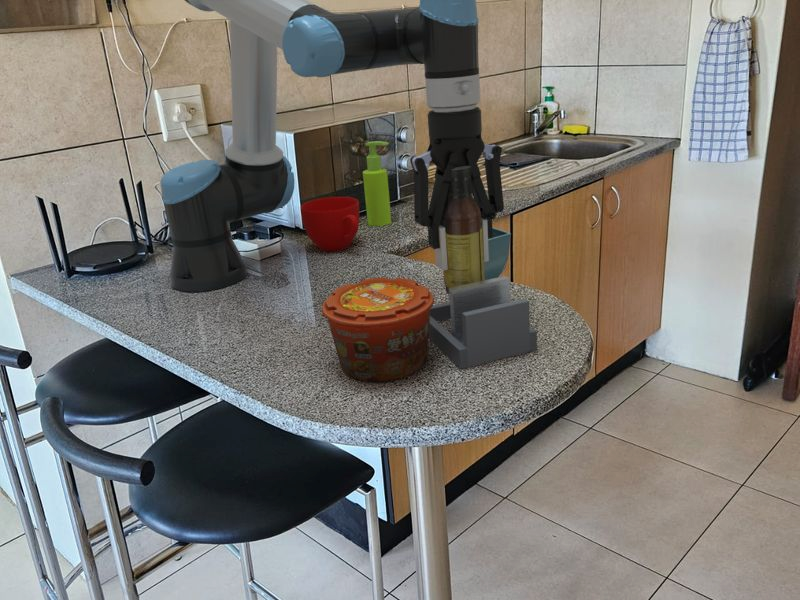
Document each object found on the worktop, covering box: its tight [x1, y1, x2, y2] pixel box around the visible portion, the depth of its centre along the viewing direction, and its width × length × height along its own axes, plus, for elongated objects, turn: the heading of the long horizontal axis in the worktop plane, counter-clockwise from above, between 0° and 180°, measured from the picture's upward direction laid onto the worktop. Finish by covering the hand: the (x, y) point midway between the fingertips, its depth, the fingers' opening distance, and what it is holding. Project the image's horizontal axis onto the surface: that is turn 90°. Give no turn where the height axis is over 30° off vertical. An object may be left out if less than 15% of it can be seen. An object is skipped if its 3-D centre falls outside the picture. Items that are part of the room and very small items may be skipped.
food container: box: [321, 276, 435, 384], centre depth 100 cm, size 16×16×11 cm
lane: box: [429, 298, 538, 370], centre depth 106 cm, size 18×12×8 cm
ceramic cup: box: [300, 196, 360, 252], centre depth 153 cm, size 13×17×10 cm
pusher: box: [449, 275, 511, 344], centre depth 103 cm, size 1×9×10 cm, turn 111°
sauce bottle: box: [440, 165, 485, 296], centre depth 104 cm, size 6×6×20 cm
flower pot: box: [484, 226, 512, 280], centre depth 129 cm, size 9×9×9 cm
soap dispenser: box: [362, 140, 392, 227], centre depth 168 cm, size 6×7×20 cm
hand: (462, 263), depth 106 cm, fingers closed on sauce bottle, 6 cm apart
